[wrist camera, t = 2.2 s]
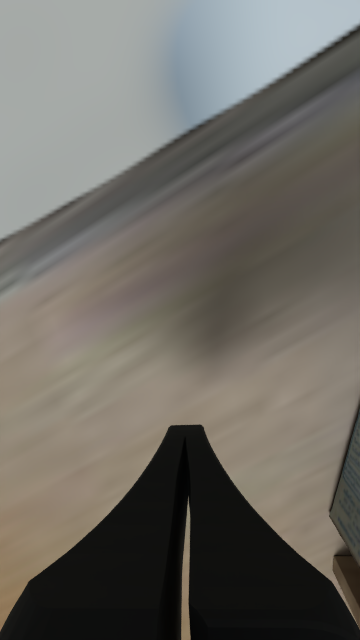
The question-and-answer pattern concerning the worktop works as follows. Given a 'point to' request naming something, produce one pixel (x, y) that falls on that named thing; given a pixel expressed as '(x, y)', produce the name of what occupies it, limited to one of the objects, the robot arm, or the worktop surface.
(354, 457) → the beverage carton
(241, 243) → the worktop surface
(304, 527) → the worktop surface
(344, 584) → the tray
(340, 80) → the worktop surface
